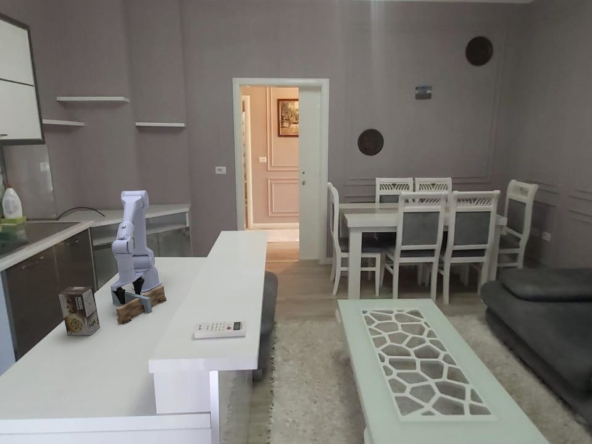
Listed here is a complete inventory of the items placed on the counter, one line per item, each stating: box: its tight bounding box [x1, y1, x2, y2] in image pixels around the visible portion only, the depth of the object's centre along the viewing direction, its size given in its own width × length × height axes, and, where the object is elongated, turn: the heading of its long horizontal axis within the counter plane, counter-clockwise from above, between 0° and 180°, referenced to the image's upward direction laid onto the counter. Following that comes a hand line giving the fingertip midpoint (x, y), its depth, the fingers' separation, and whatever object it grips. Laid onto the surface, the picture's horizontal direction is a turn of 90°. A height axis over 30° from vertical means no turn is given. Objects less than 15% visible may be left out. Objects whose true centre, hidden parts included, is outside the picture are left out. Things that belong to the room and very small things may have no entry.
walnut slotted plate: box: [115, 285, 167, 325], centre depth 152 cm, size 22×4×6 cm, turn 153°
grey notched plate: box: [110, 289, 153, 314], centre depth 155 cm, size 20×2×6 cm, turn 64°
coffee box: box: [58, 285, 101, 336], centre depth 137 cm, size 9×6×16 cm
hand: (130, 300), depth 155 cm, fingers open, 7 cm apart
